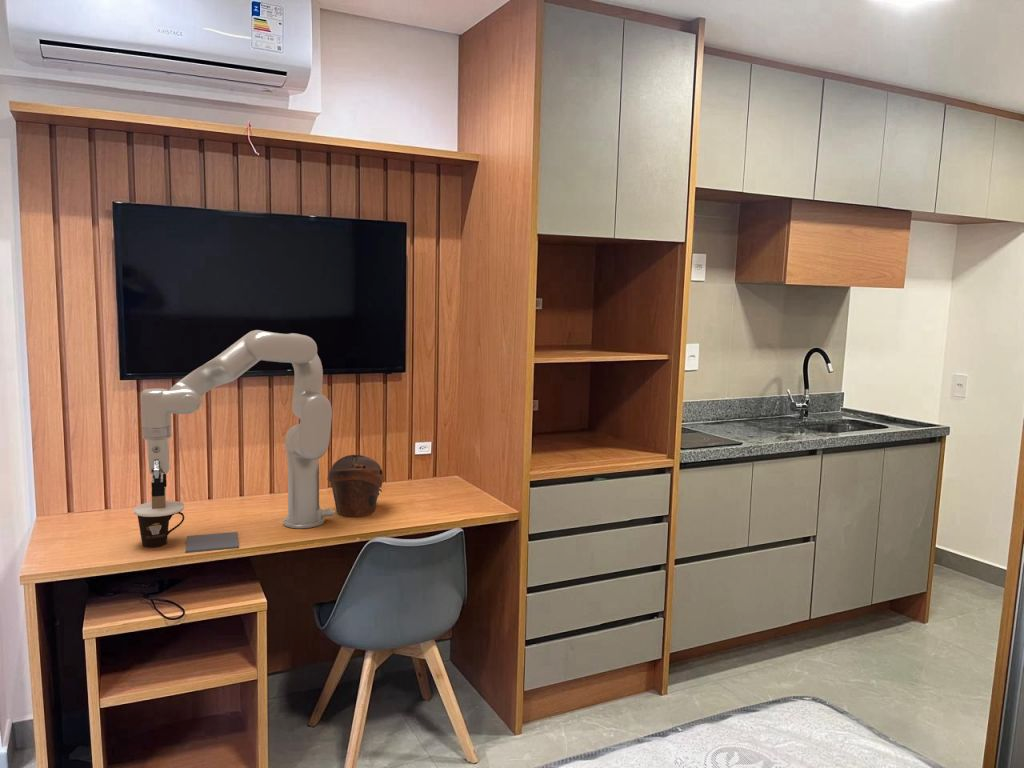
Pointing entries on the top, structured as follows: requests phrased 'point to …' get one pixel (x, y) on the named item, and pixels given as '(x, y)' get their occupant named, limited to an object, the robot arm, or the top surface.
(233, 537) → the mat
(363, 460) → the brown tapered piece
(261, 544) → the top surface
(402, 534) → the top surface
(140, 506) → the lid
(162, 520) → the coffee mug
